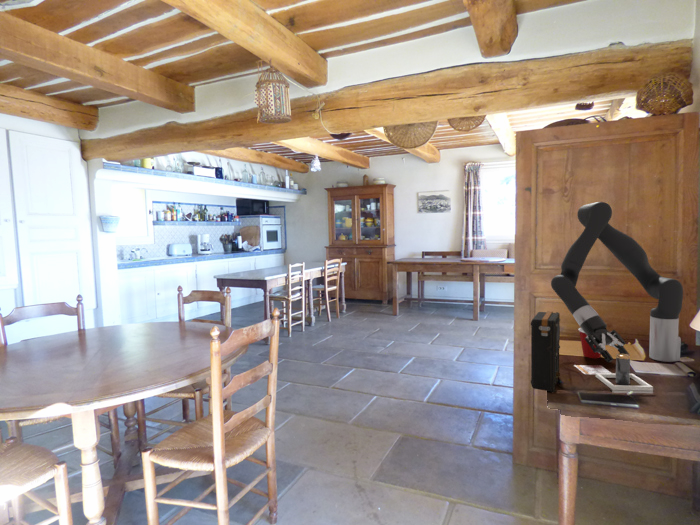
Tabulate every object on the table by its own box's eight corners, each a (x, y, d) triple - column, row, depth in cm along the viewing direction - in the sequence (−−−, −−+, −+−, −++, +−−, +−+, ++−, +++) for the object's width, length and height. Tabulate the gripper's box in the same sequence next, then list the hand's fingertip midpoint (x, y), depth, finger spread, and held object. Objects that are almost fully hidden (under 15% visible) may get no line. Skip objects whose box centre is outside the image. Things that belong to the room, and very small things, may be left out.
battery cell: (625, 381, 146) (626, 353, 145) (632, 385, 142) (632, 357, 141) (613, 381, 146) (613, 353, 145) (619, 385, 142) (619, 357, 141)
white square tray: (632, 379, 149) (632, 373, 149) (652, 393, 137) (653, 386, 137) (595, 379, 151) (595, 373, 151) (612, 392, 138) (612, 386, 138)
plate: (600, 367, 162) (600, 365, 162) (613, 377, 152) (613, 374, 152) (573, 367, 163) (573, 364, 163) (584, 376, 153) (584, 373, 153)
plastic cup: (612, 362, 167) (612, 333, 166) (582, 362, 169) (583, 333, 168) (601, 354, 178) (602, 327, 177) (574, 354, 180) (574, 326, 179)
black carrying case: (557, 394, 139) (557, 320, 137) (529, 389, 143) (529, 318, 141) (562, 379, 152) (562, 311, 150) (536, 375, 156) (536, 309, 154)
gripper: (582, 317, 149) (613, 357, 139) (609, 312, 154) (640, 350, 145) (569, 328, 154) (597, 367, 144) (595, 323, 159) (625, 361, 150)
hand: (619, 359), depth 144 cm, fingers open, 8 cm apart
